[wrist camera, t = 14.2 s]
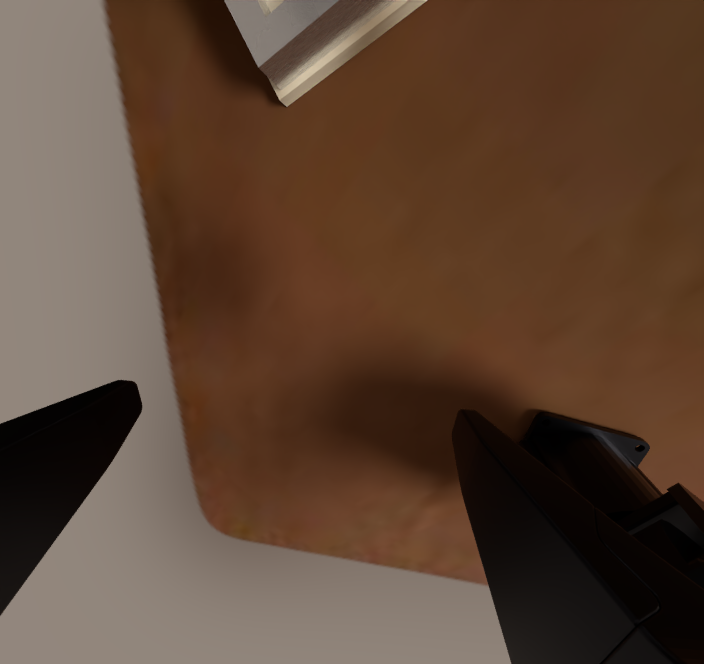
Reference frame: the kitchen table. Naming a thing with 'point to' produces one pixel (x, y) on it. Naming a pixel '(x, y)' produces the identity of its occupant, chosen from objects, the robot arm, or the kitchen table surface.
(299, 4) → the white square tray
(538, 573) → the robot arm
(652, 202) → the kitchen table surface
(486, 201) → the kitchen table surface
